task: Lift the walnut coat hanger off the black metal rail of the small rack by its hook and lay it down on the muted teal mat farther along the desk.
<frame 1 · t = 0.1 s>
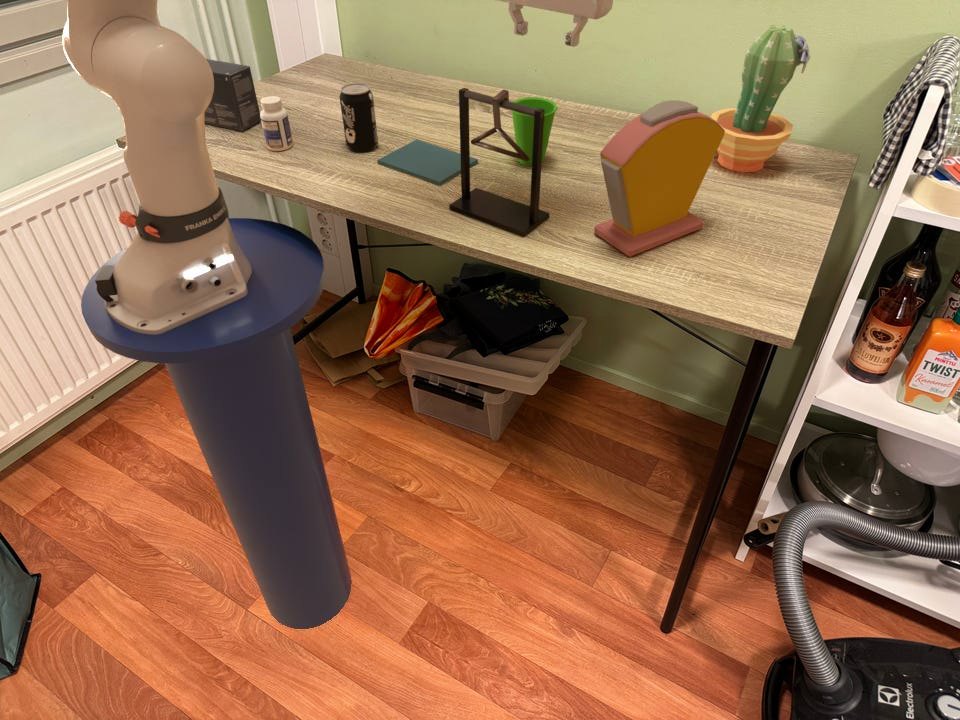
hand: (545, 39, 106), 27 cm above the table, tool pointing down, fingers open, 8 cm apart
rack: (498, 213, 120), on the table
cup: (530, 161, 136), on the table
beverage can: (362, 147, 141), on the table
pill bottle: (280, 147, 142), on the table
yellow fan-shaped flat fixture: (647, 232, 115), on the table
potted cactus: (740, 162, 135), on the table
mat: (427, 163, 135), on the table
hanger: (502, 124, 110), point 16 cm above the table, tilted 9°, touching rack
small box: (230, 122, 151), on the table
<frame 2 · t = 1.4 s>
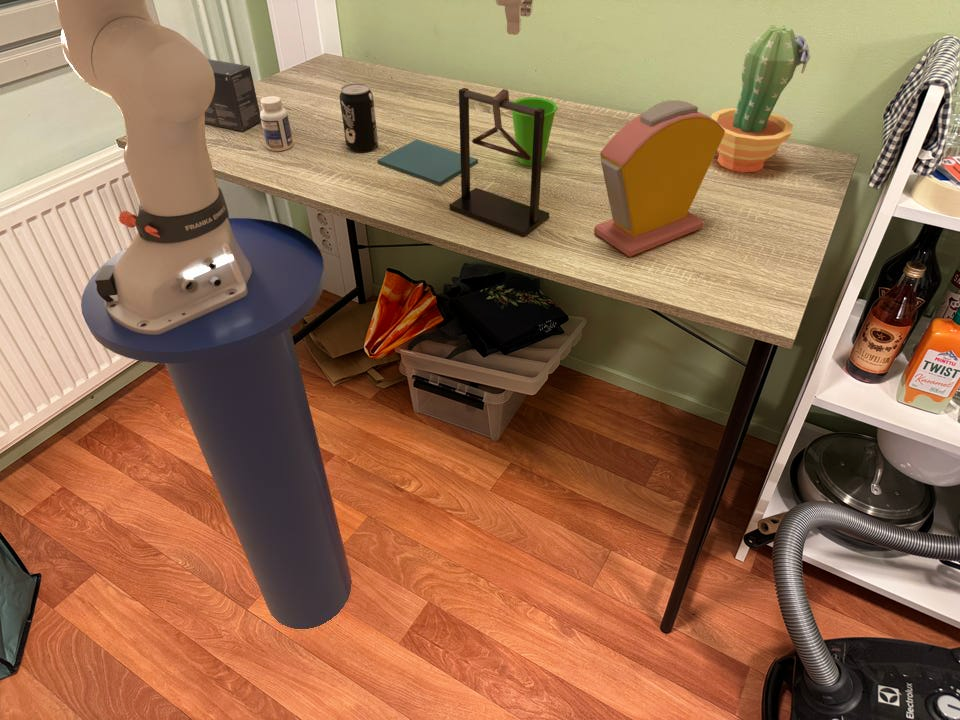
hand: (519, 23, 101), 31 cm above the table, tool pointing down, fingers open, 8 cm apart
nothing on the table moved.
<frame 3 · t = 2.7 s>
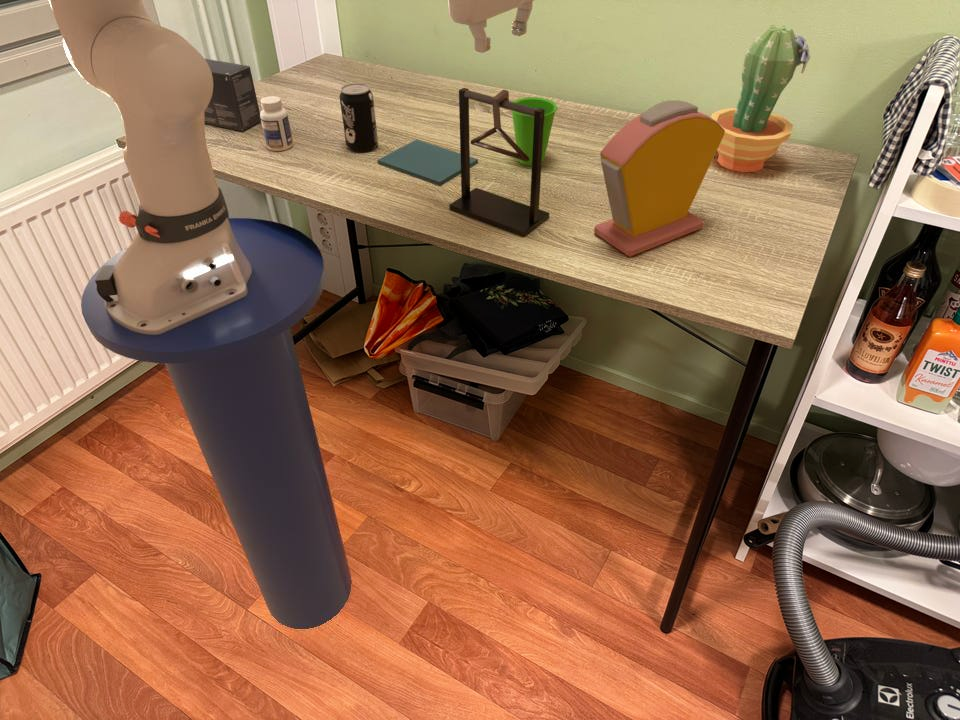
hand: (501, 42, 101), 29 cm above the table, tool pointing down, fingers open, 8 cm apart
nothing on the table moved.
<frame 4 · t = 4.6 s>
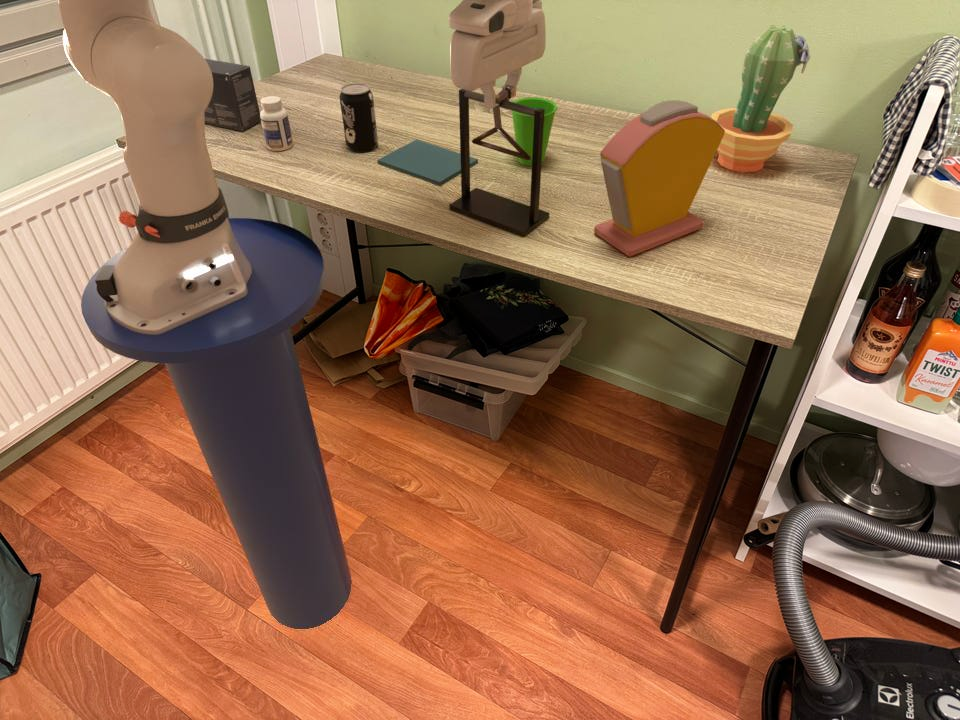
hand: (500, 102, 107), 20 cm above the table, tool pointing down, fingers closed on hanger, 3 cm apart
hanger: (503, 123, 110), point 16 cm above the table, tilted 11°, touching gripper, rack
everything else where it was.
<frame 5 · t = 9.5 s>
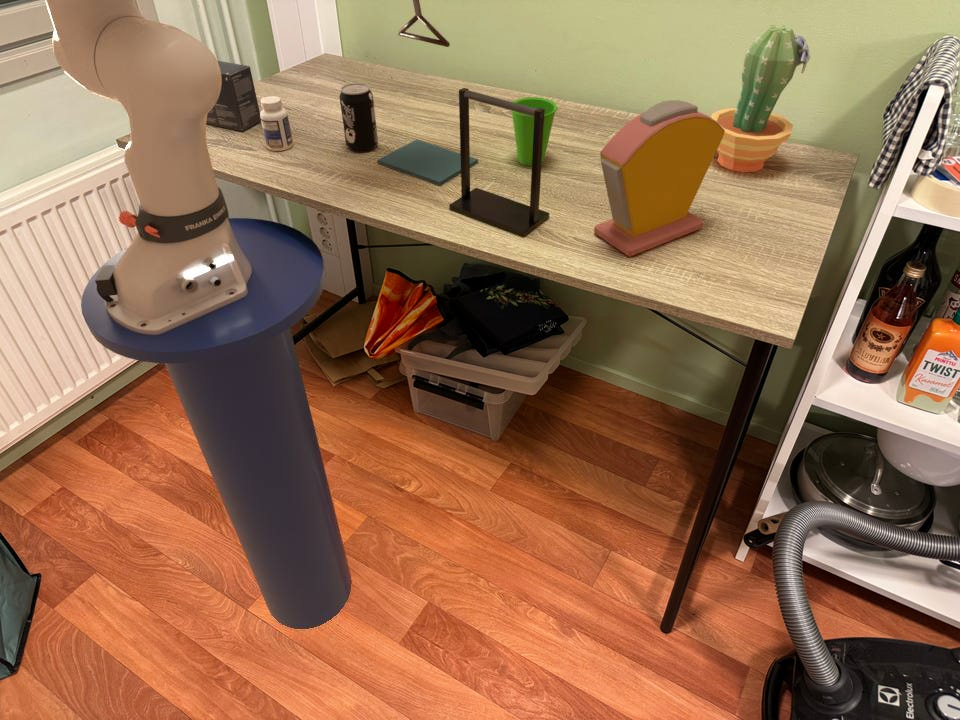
hanger: (423, 12, 117), point 28 cm above the table, tilted 11°, touching gripper
everything else where it was.
when the fingers open (9 cm above the table, at t = 14.6 s): hanger stays where it is, resting on mat.
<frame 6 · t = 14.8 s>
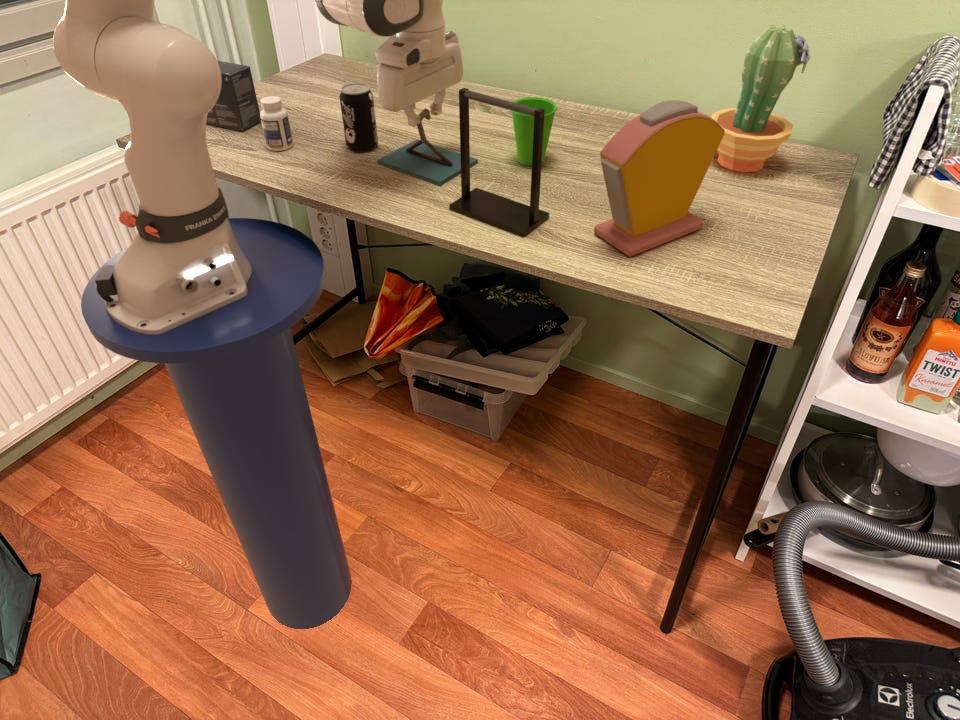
hand: (425, 119, 129), 9 cm above the table, tool pointing down, fingers open, 5 cm apart
hanger: (427, 136, 132), point 5 cm above the table, tilted 16°, touching gripper, mat
everything else where it was.
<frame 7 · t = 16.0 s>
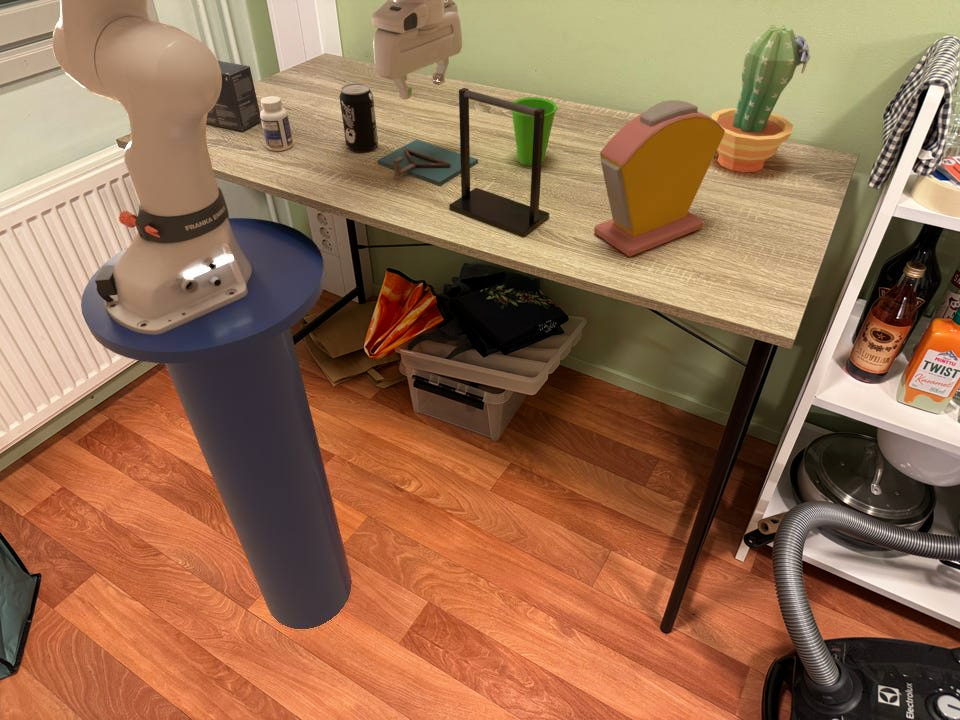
hand: (422, 90, 125), 14 cm above the table, tool pointing down, fingers open, 8 cm apart
hanger: (413, 159, 131), point 2 cm above the table, tilted 90°, touching mat
everything else where it was.
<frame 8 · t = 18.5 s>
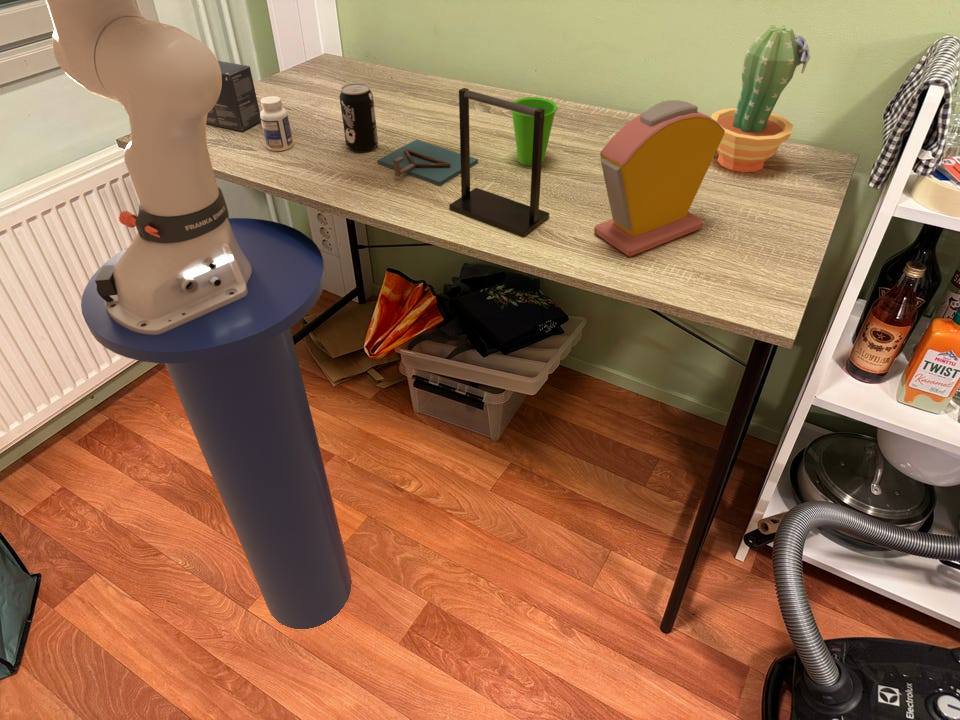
nothing on the table moved.
at the end: hanger touching mat; hanger inside the target area on the mat (4.2 cm from its centre), point 2.5 cm above the mat's base; the gripper is holding nothing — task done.
